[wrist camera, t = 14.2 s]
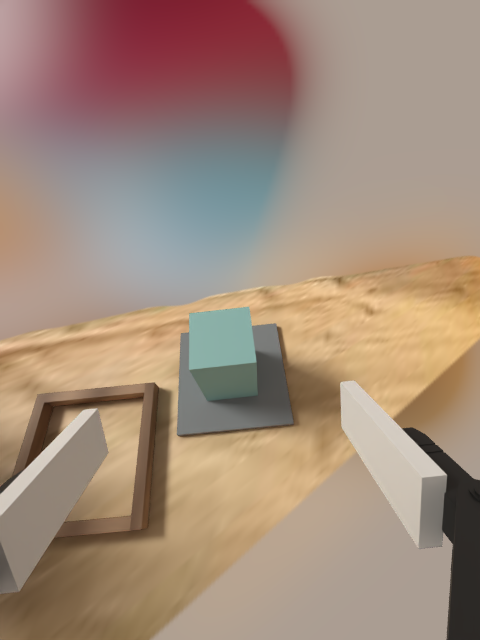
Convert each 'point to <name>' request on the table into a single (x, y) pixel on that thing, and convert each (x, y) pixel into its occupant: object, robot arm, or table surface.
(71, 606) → the table surface
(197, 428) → the slate mat
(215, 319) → the teal block
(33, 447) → the pocket frame
